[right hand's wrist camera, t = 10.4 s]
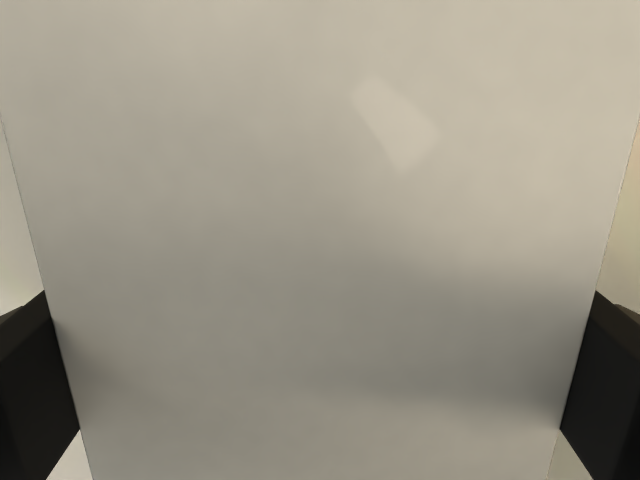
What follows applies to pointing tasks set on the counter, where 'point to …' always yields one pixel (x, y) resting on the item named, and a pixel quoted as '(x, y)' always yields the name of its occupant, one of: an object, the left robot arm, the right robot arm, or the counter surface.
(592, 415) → the right robot arm
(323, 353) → the cabinet
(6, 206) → the counter surface
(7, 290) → the counter surface
